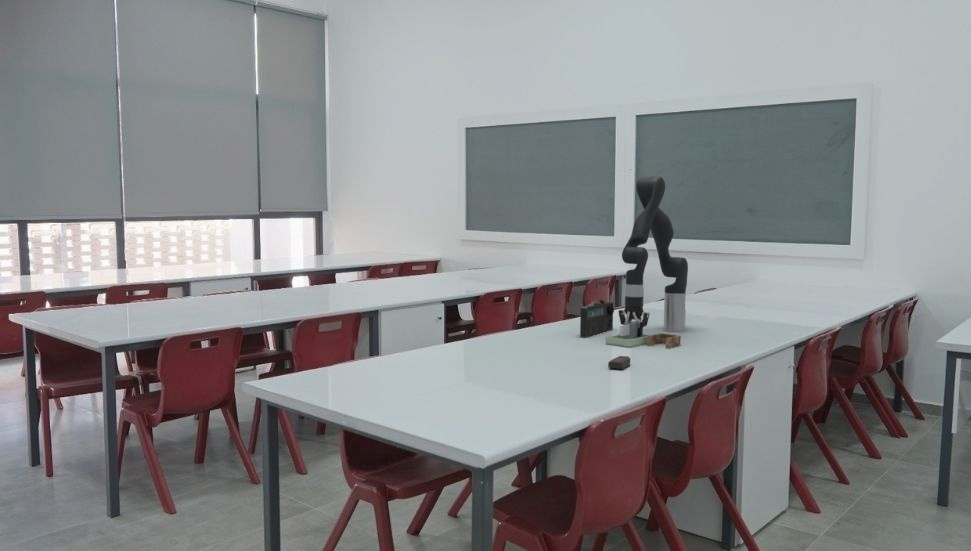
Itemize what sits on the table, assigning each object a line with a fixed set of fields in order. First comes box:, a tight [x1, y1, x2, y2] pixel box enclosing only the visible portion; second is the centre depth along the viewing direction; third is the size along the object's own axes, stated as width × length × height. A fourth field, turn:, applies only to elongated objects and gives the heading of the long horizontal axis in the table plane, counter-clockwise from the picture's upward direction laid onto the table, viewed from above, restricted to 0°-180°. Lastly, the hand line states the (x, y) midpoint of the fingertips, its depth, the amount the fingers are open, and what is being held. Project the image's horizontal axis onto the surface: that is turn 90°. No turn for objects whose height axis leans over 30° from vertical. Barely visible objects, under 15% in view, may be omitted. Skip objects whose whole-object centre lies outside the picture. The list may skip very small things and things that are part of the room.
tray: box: [605, 333, 651, 349], centre depth 326 cm, size 18×12×3 cm, turn 137°
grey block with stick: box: [619, 320, 644, 339], centre depth 326 cm, size 12×5×6 cm, turn 137°
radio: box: [579, 287, 615, 339], centre depth 351 cm, size 25×4×20 cm, turn 145°
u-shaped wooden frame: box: [646, 333, 682, 349], centre depth 321 cm, size 10×10×4 cm
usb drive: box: [607, 355, 632, 370], centre depth 282 cm, size 5×12×3 cm, turn 152°
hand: (633, 335), depth 328 cm, fingers closed on grey block with stick, 5 cm apart
